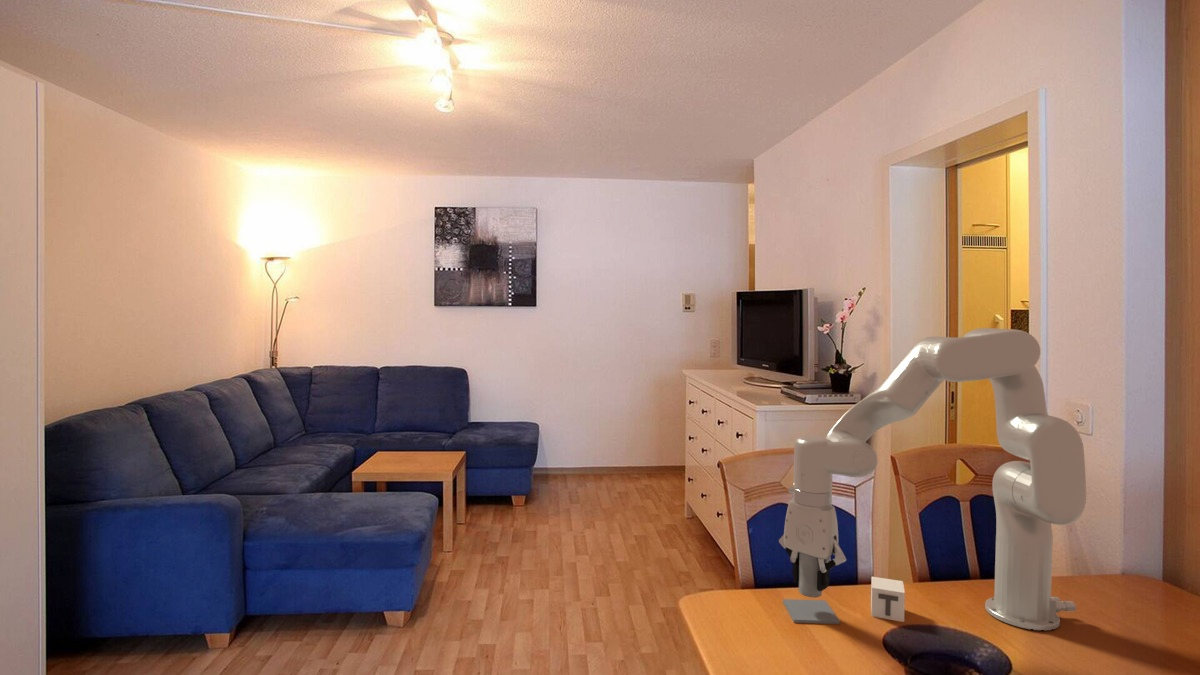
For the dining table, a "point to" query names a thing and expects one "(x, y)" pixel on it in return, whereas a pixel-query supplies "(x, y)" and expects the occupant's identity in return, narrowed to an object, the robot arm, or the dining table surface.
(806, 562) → the grey hollow tube
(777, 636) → the dining table surface
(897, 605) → the letter cube
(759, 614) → the dining table surface
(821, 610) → the grey mat
